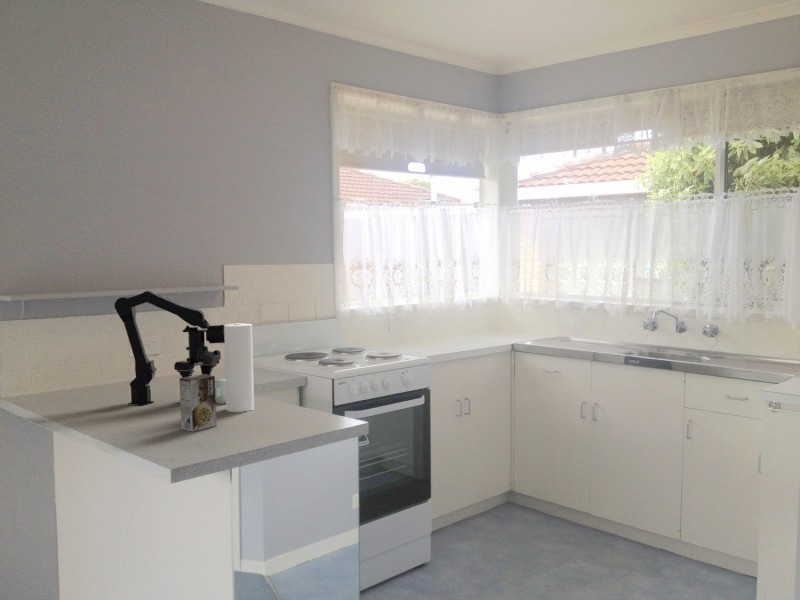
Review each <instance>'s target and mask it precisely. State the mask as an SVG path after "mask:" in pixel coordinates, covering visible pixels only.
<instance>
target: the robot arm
mask: <svg viewBox="0 0 800 600" xmlns="http://www.w3.org/2000/svg"><path fill="white" fill-rule="evenodd" d="M145 303H147V304H150V305H152V306H155V307H157V308H159V309H161V310H164V311H167V312H168V313H171V314H173V315H175V316H177V317H179V318H180V319H181V320H183V321H184V322H186V323H187V325H186V326H185V328H184V329H183V330H182V333H187V334H188V335H187V336H188V337H187V338H188V339H187V340H188V346H186V347H185V348H186V349H185V350H186V351H188V357H186V360H179V361H176V362H175V363H174V364H173V365H174V371H176V372H178V373H179V375H180V376H181V378H183V377H188V376H193V373H194V372H195V369H194V368H195V367H196V366H199V367H200V372H201V374H208V375H211V374H212V371H213V369H215V367H217V366H218V365H219V364H220V360H221V359H222V357H221V356H222V355H221V351H220V350H219V349H215V350H213V351H210V350H209V348H208V346H207V345H206V343H205V342H208V344H209V345H210V344H225V336H224V325H225V324H218V325H216V324H215V325H212V324H210V323H209V322H208V321H207V319H206V316H205V313H204V312H203V311H202V309H201V310H200V309H197V308H193V307H189V306H185V305H181V304H179V303H178V302H177V303H176V302H174V301H172V300H170V299H168V298H166V297H163V296H161V295H158V294H156V293H154V292H153V291H151V290H146V291H144V292H142V293H139V294H137V295H133V296H131V297H130V296H122V297H119V298H117V299H116V300H115V301H114V309H115V311H116V313H117V315H118V318H120V319H121V321H122V323H123V324H124V328H125V332H126V334H127V338H128V341H129V345H130V349H131V351H132V355H133V357H134V371H135V372H134V373H135V378H134V379H133V380H131V382H130V383H129V387H130V399H131V402H128V403H127V404H128V405H131V404H135V405H134V406H145V405H148V403H149V404H153V403H154V400H152V395H151V386H150V383H151V381H152V380H153V379H154V378H155V376H156V371H157V368H156V366H155V361H154V359H152V360H150V359H149V357H148V356H147V354H146V349H145V346H144V344H143V340H142V337H141V333H140V329H139V327H138V324H137V319H136V316H137V313H136V312H137V311H136V307H137V306H140V305H142V304H145ZM144 404H145V405H144Z"/></svg>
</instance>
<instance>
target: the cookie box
mask: <svg viewBox="0 0 800 600" xmlns="http://www.w3.org/2000/svg"><path fill="white" fill-rule="evenodd" d="M215 380H216V378H215V375H211V374H210V375H208V374H202V373H201V374H196V375H192V376H188V377H183V378H182V377H179V397H180V398H179V399H180V424H181V425H180V426H181V428H180V429H182V430H184V431H188V432H191V431H192V433H193V432H196V431H197V432H198V431H202V430H205V429H209V428H213V427H217V426H218V425H217V424H218V423H217V421H218V420H217V403H216V395H215Z"/></svg>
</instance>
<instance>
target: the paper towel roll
mask: <svg viewBox="0 0 800 600" xmlns="http://www.w3.org/2000/svg"><path fill="white" fill-rule="evenodd" d="M223 325H224V336H225V343H224V360H225V361H224V365H225V366H224V367H225V370H224V371H225V379H226V405H225V407H226V411H227V412H230V413H245V412H244V411H246V412H250V411H249V410H251V411H253V410H254V409H255V395H254V394H255V391H254V387H255V385H254V354H253V353H254V346H253V342H254V341H253V324H252V323H243V322H236V323H230V324H229V323H228V324H223Z"/></svg>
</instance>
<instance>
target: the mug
mask: <svg viewBox="0 0 800 600" xmlns="http://www.w3.org/2000/svg"><path fill="white" fill-rule="evenodd" d="M215 395H216V404H221V405H223V404H224V403H226V378H218V379H215Z"/></svg>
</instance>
